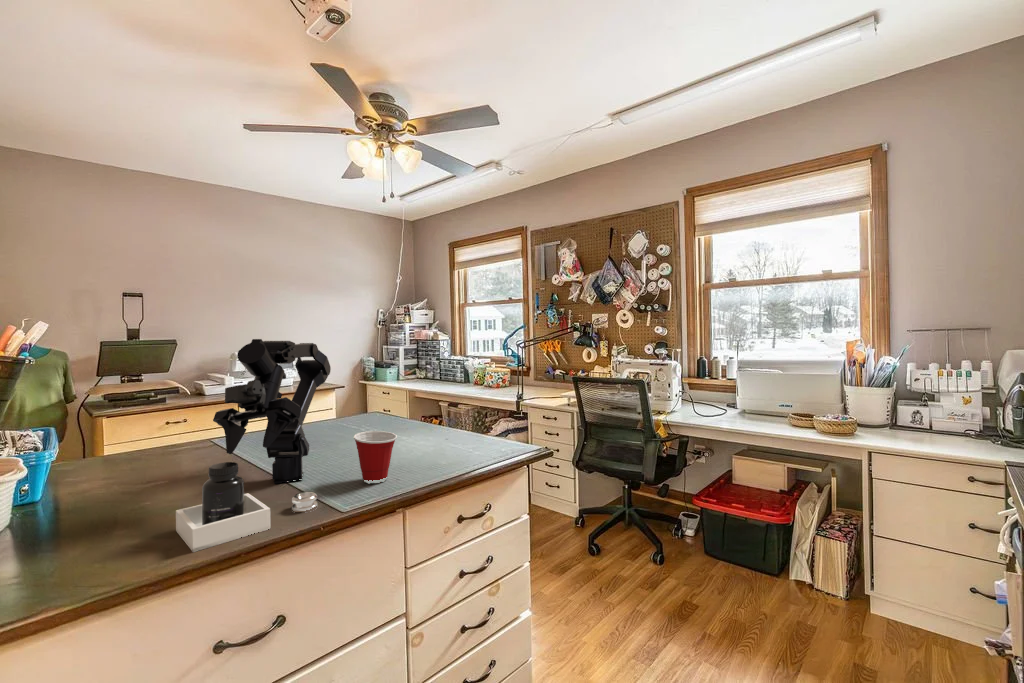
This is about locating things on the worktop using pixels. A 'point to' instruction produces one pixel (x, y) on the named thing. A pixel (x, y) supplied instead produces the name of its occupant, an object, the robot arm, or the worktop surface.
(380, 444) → the plastic cup
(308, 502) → the grooved metal pulley
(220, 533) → the bin
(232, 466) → the supplement bottle
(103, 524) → the worktop surface
